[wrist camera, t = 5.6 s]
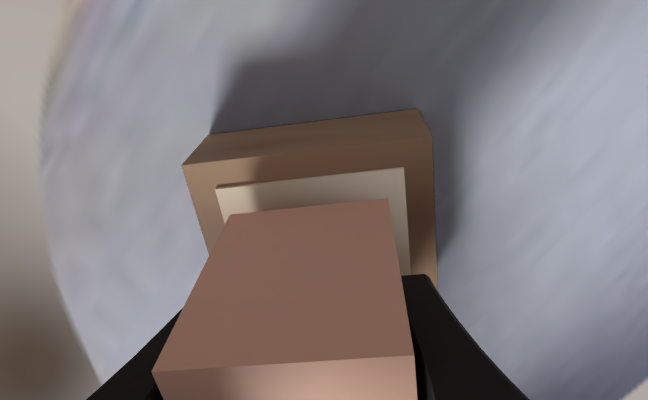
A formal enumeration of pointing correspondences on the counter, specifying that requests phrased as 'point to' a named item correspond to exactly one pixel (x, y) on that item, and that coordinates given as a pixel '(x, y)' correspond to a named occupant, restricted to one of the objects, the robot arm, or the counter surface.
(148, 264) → the counter surface
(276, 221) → the terracotta block
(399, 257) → the walnut foundation
